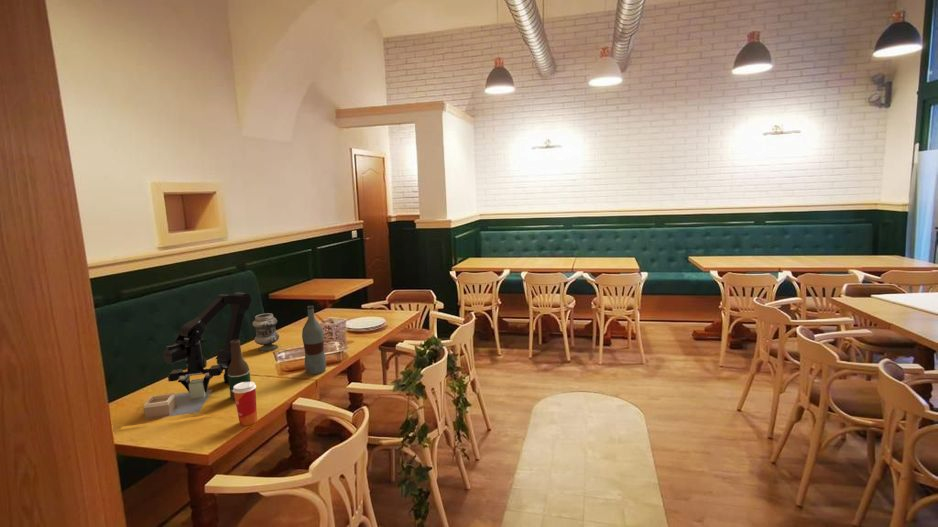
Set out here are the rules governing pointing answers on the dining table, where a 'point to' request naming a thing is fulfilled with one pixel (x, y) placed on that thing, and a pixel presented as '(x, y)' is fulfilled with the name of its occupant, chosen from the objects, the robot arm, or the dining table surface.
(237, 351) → the beer bottle
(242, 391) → the paper cup
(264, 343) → the apothecary jar
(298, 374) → the dining table surface
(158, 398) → the board
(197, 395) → the green block
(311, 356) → the vodka
